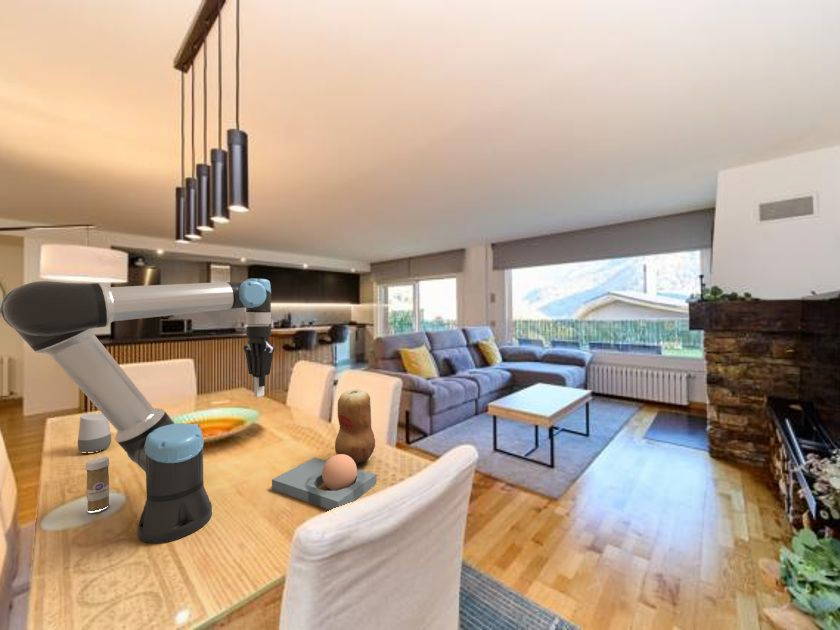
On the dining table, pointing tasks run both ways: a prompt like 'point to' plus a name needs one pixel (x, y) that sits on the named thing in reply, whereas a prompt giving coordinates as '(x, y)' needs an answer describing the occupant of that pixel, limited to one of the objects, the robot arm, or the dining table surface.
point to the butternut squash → (355, 426)
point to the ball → (339, 472)
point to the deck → (309, 477)
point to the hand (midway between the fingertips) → (259, 395)
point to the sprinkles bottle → (97, 483)
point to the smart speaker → (93, 433)
